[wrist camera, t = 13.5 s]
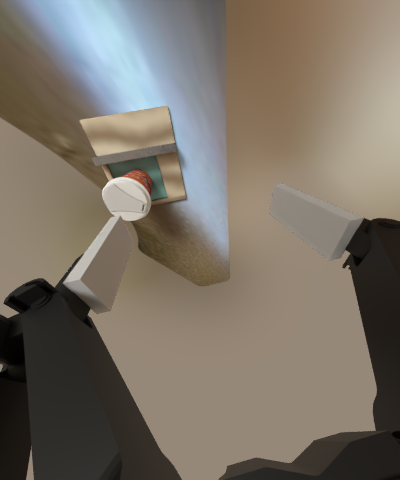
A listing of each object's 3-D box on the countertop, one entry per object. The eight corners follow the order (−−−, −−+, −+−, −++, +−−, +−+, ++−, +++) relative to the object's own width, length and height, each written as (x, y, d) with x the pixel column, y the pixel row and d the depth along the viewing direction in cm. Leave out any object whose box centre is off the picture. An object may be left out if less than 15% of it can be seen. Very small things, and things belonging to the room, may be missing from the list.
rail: (97, 156, 33) (91, 157, 31) (174, 142, 34) (175, 142, 32) (100, 163, 34) (95, 165, 32) (176, 150, 35) (177, 151, 33)
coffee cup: (159, 172, 38) (155, 189, 26) (152, 201, 42) (145, 228, 30) (124, 158, 35) (101, 170, 23) (120, 191, 39) (97, 215, 27)
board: (81, 120, 30) (79, 120, 30) (167, 106, 31) (167, 105, 30) (124, 209, 42) (123, 210, 41) (186, 197, 43) (186, 198, 42)
